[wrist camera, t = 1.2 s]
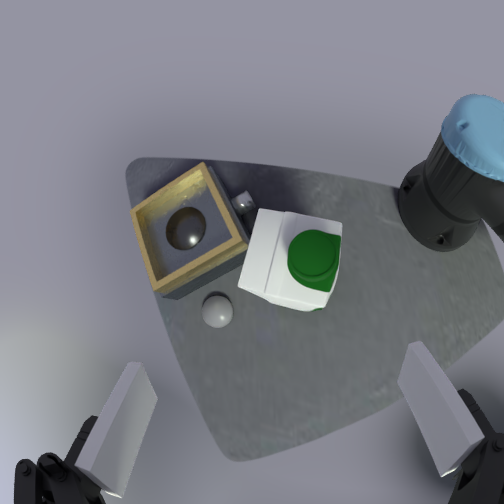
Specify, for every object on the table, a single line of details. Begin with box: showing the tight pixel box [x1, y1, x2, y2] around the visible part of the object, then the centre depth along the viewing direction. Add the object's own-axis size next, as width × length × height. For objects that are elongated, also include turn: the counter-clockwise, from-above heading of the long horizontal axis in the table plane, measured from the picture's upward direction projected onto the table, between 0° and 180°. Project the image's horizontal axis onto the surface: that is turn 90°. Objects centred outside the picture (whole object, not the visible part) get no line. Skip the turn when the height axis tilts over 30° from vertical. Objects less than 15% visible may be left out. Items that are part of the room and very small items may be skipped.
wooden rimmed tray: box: [130, 162, 256, 300], centre depth 43 cm, size 19×16×8 cm
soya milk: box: [238, 208, 342, 311], centre depth 31 cm, size 9×9×20 cm
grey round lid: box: [202, 296, 234, 327], centre depth 42 cm, size 5×5×1 cm
